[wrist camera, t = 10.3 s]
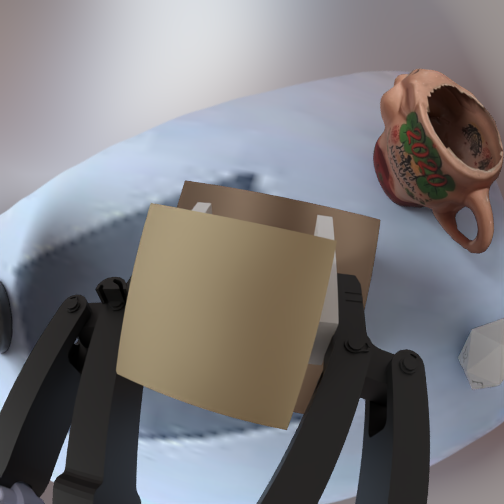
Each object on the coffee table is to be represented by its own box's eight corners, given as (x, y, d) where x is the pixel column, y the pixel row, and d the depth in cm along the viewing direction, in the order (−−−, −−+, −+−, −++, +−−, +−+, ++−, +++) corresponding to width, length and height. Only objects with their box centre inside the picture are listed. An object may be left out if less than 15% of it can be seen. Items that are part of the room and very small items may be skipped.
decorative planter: (474, 242, 27) (546, 219, 14) (405, 278, 28) (476, 270, 15) (410, 110, 31) (447, 46, 17) (338, 128, 32) (357, 50, 18)
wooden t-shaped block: (148, 363, 18) (35, 413, 7) (189, 185, 19) (103, 94, 8) (329, 412, 16) (364, 525, 5) (375, 223, 17) (467, 148, 6)
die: (446, 325, 27) (462, 386, 19) (501, 292, 23) (529, 348, 15) (459, 358, 29) (470, 414, 21) (508, 330, 24) (528, 383, 16)
